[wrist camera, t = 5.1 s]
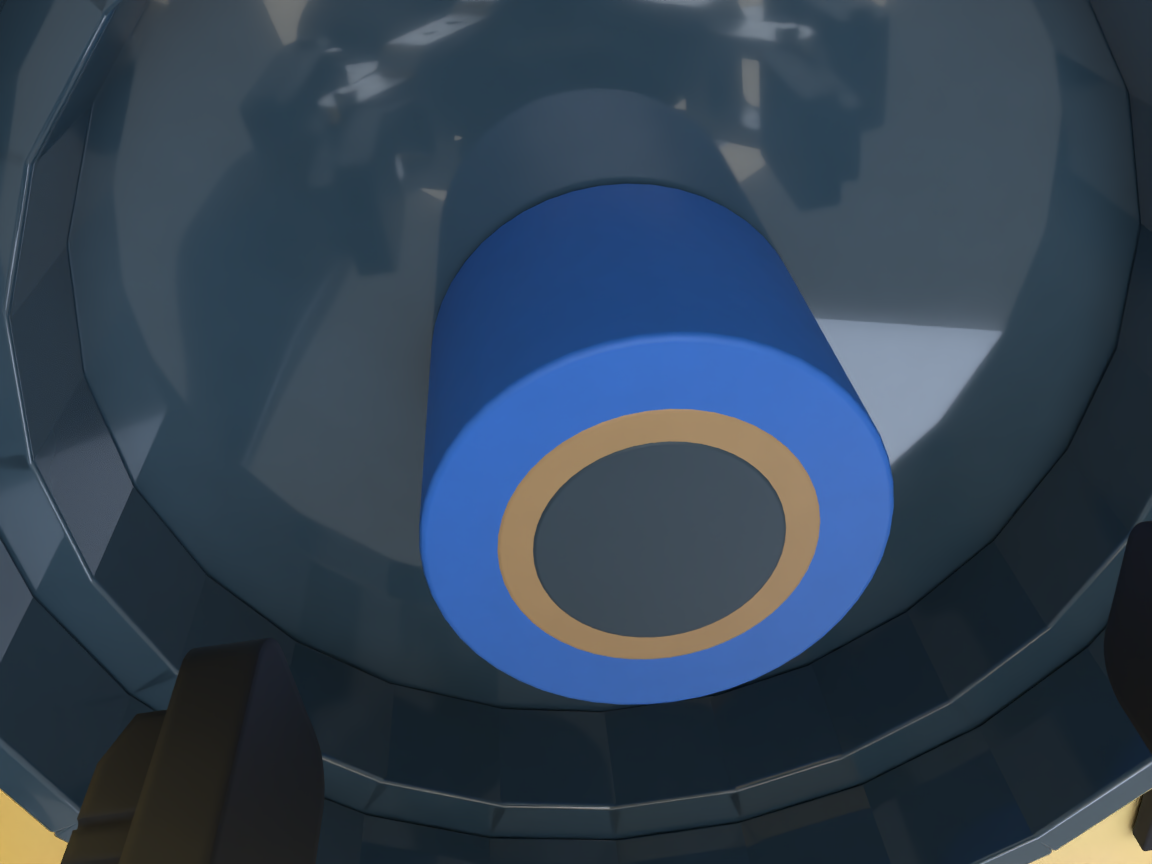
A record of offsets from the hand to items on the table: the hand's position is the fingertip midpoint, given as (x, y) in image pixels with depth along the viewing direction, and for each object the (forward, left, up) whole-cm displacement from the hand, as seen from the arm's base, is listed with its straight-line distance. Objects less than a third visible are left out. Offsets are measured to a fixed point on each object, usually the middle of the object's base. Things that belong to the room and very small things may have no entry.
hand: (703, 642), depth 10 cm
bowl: (0, 0, -6) cm, 6 cm away
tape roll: (0, 0, -6) cm, 6 cm away
